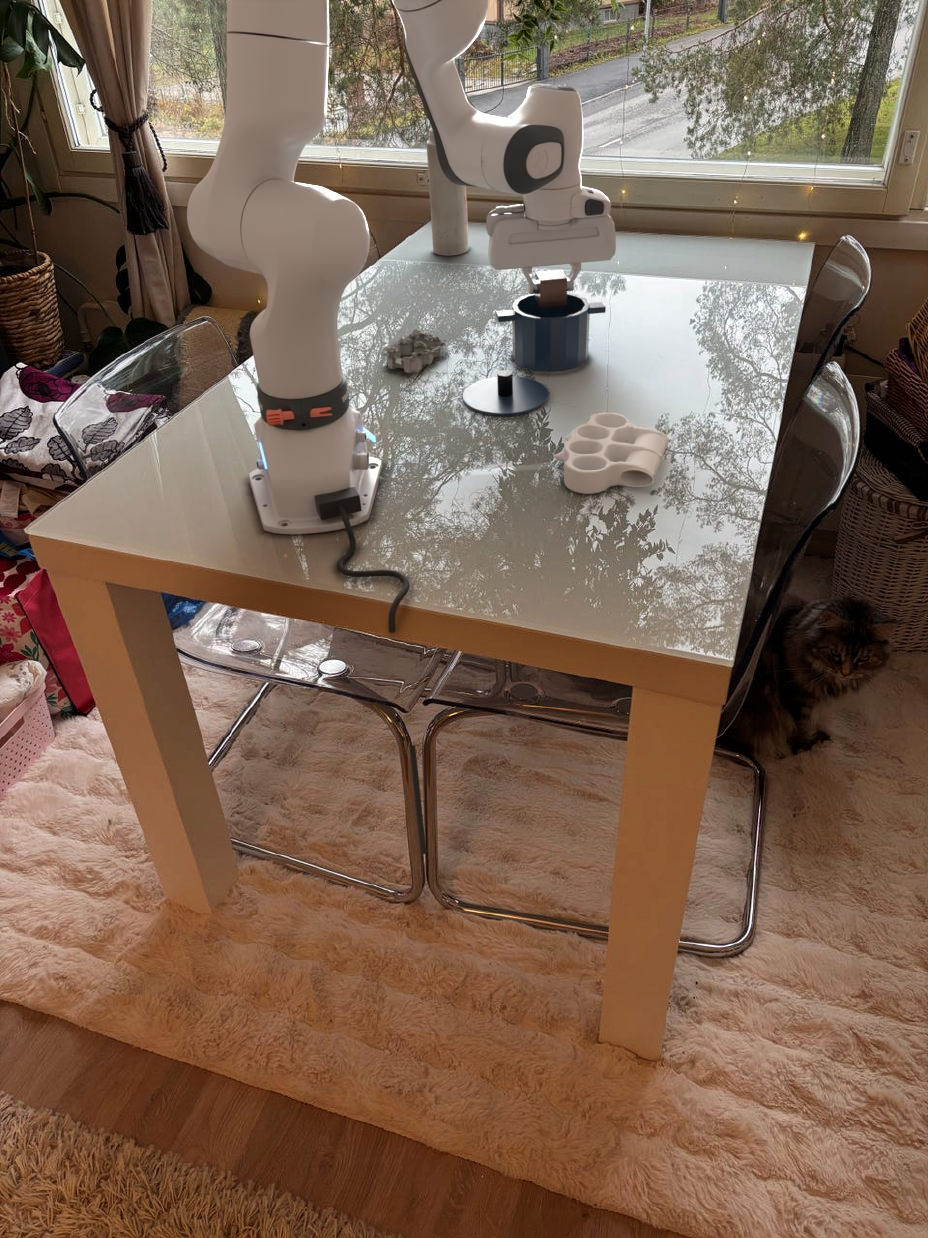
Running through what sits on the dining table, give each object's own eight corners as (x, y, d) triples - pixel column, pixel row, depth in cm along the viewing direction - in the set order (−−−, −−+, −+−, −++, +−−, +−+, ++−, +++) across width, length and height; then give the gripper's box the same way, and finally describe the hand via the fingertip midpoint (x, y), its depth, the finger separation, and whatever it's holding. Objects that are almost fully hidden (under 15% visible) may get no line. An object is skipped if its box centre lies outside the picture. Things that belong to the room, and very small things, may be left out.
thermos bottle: (468, 243, 212) (463, 105, 194) (468, 254, 206) (462, 112, 188) (433, 245, 212) (425, 107, 195) (432, 256, 206) (423, 114, 188)
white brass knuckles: (647, 503, 122) (540, 488, 127) (671, 440, 135) (573, 428, 140) (649, 481, 120) (540, 466, 124) (673, 419, 133) (574, 407, 138)
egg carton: (413, 378, 156) (411, 355, 154) (379, 369, 160) (376, 346, 157) (451, 355, 163) (450, 333, 160) (417, 347, 166) (415, 325, 164)
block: (566, 305, 152) (567, 277, 149) (540, 307, 152) (540, 280, 149) (561, 295, 155) (561, 269, 153) (535, 298, 155) (535, 271, 152)
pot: (610, 369, 155) (613, 313, 149) (504, 379, 154) (503, 323, 148) (593, 340, 165) (595, 287, 159) (492, 349, 164) (491, 296, 158)
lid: (555, 415, 143) (556, 387, 140) (468, 423, 142) (467, 395, 139) (539, 378, 154) (539, 351, 151) (458, 386, 153) (456, 359, 150)
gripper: (488, 213, 141) (491, 303, 149) (621, 201, 142) (616, 292, 151) (483, 201, 146) (485, 290, 154) (611, 191, 147) (606, 279, 156)
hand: (551, 291), depth 152 cm, fingers closed on block, 4 cm apart
